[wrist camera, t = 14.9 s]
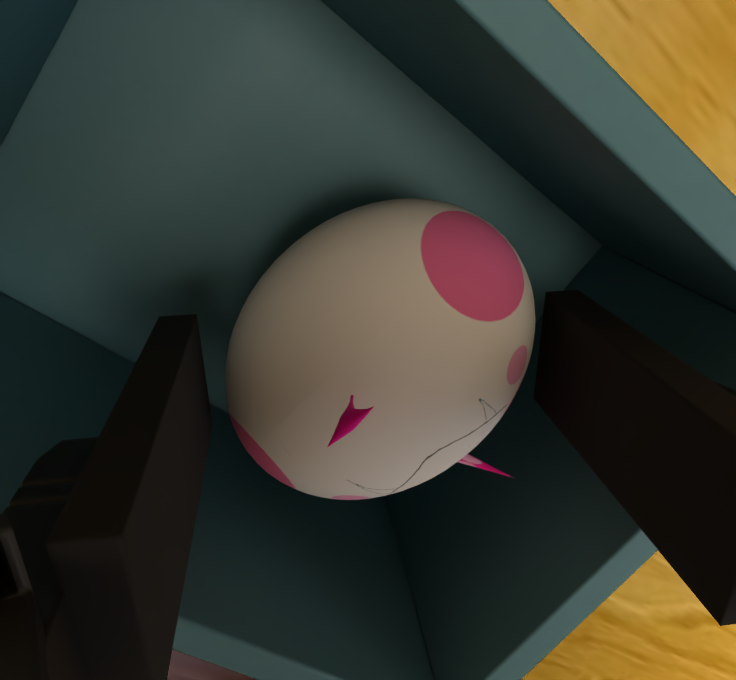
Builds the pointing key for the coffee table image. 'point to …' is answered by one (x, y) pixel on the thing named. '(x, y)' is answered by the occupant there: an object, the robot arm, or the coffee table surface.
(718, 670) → the coffee table surface
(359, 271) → the stress ball
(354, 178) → the teal open box
